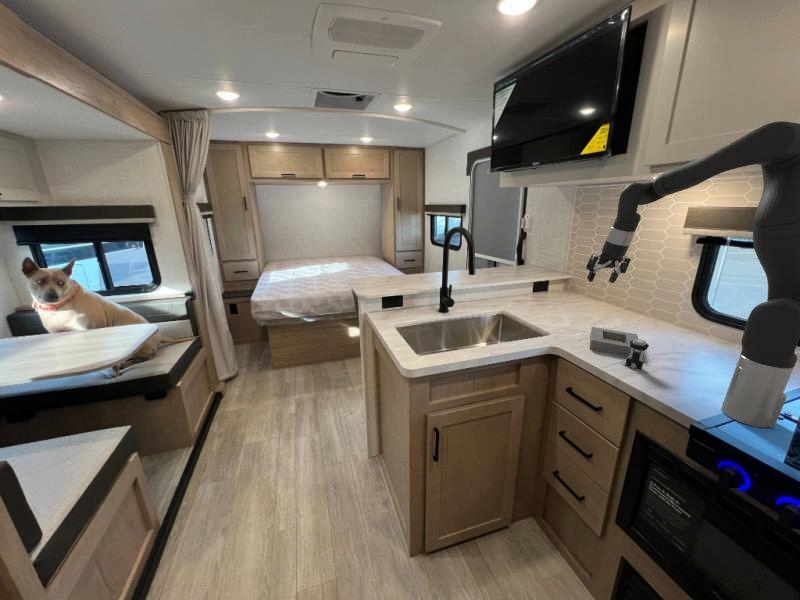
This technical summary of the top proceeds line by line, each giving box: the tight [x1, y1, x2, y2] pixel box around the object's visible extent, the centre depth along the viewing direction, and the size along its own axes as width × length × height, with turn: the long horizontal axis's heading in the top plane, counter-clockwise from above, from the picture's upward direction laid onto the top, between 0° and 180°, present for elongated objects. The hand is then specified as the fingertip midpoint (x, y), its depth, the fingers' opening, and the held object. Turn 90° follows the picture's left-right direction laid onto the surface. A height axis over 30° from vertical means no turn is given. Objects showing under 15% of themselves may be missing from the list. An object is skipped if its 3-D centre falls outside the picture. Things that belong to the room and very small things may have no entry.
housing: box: [589, 326, 642, 358], centre depth 128 cm, size 16×16×4 cm
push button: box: [620, 338, 650, 371], centre depth 111 cm, size 7×5×10 cm
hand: (600, 281), depth 122 cm, fingers open, 8 cm apart
